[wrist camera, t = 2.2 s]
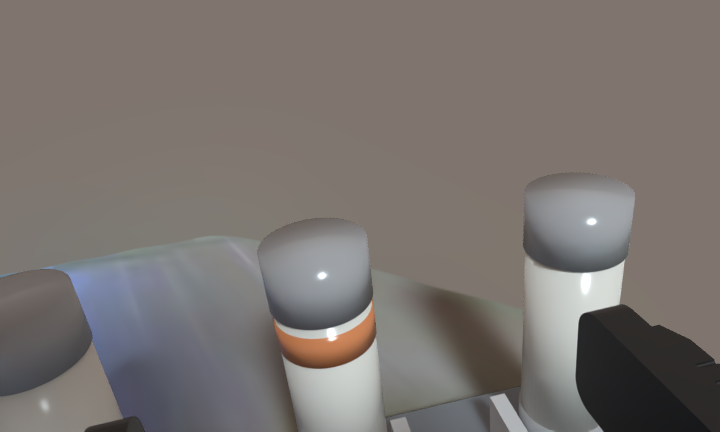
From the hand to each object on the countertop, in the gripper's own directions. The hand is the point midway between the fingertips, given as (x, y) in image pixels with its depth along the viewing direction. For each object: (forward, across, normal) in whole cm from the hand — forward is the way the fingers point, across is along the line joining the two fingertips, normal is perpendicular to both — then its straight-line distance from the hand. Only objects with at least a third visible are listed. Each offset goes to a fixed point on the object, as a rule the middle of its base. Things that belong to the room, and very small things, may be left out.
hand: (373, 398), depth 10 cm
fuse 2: (+12, -11, +17) cm, 23 cm away
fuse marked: (+12, 0, +16) cm, 20 cm away
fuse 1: (+12, +11, +16) cm, 23 cm away
